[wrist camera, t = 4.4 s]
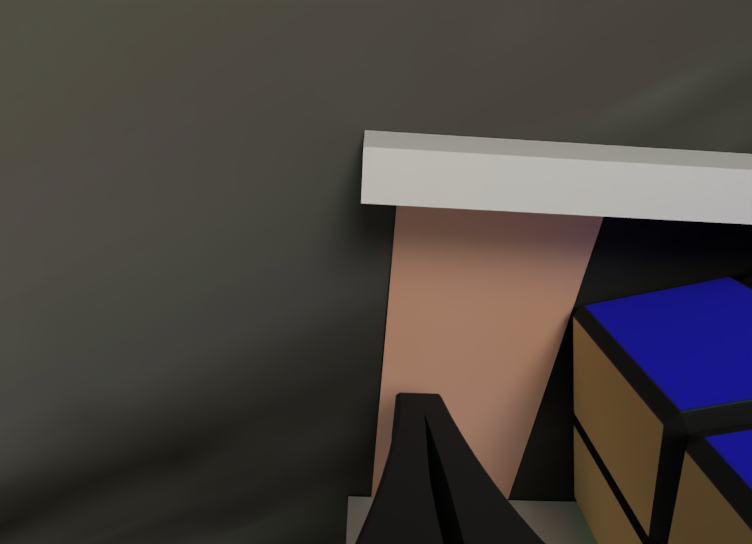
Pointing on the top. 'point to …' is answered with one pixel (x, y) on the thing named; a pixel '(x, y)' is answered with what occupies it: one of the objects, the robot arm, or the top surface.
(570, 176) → the trap channel
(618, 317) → the puzzle cube
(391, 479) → the robot arm
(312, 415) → the top surface
